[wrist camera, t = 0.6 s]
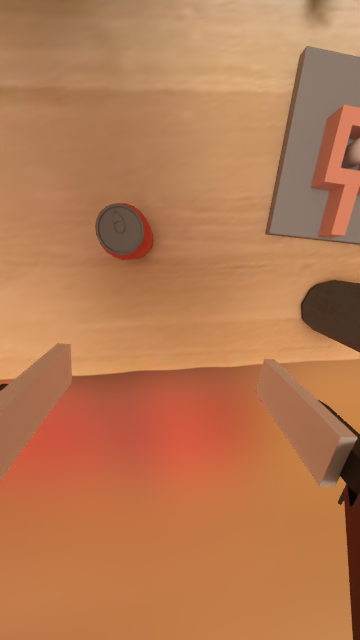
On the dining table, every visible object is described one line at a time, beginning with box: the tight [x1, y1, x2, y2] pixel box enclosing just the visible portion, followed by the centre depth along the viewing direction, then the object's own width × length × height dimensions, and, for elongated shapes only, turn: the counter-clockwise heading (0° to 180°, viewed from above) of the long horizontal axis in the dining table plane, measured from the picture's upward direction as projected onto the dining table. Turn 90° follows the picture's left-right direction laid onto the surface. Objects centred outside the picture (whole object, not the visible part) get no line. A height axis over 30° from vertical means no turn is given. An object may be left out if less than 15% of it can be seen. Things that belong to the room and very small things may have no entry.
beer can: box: [95, 204, 153, 259], centre depth 30 cm, size 7×7×12 cm
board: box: [266, 46, 360, 244], centre depth 31 cm, size 24×20×8 cm
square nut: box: [311, 105, 360, 237], centre depth 33 cm, size 16×9×3 cm, turn 175°
